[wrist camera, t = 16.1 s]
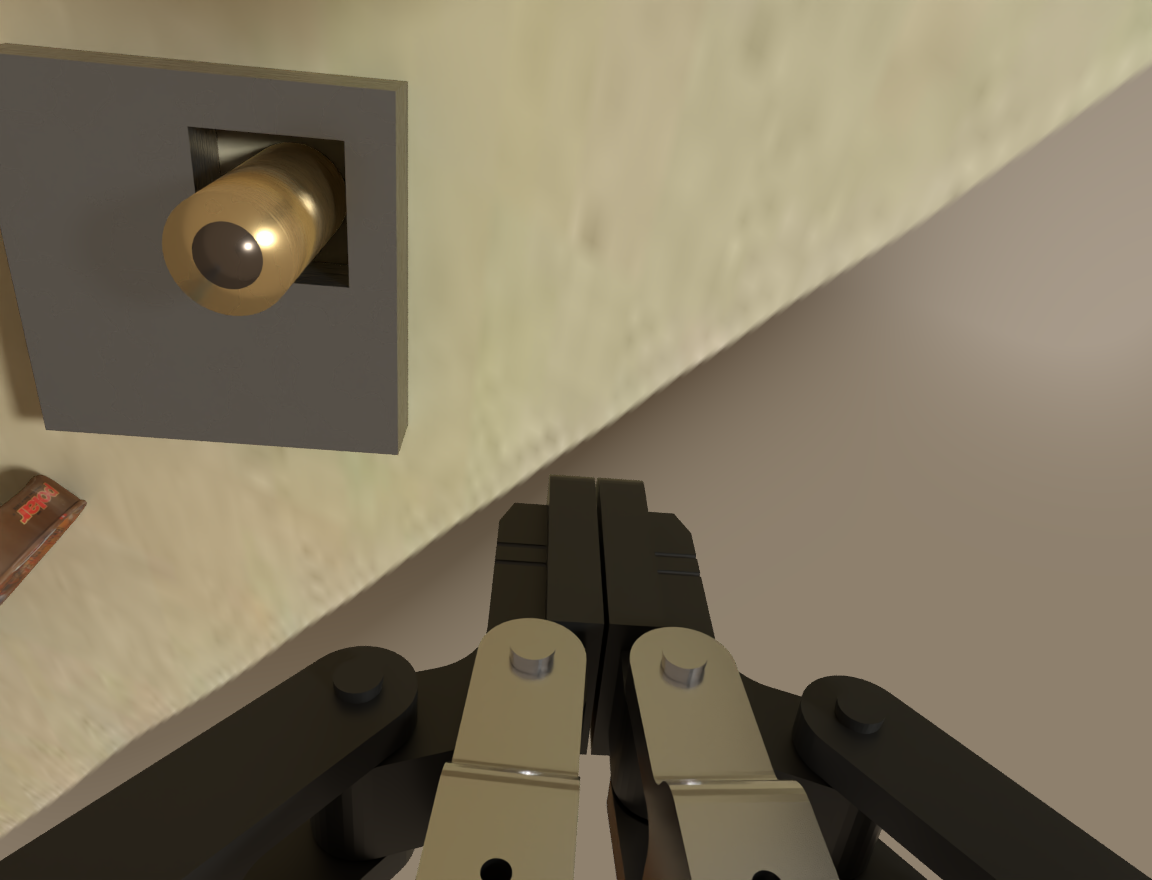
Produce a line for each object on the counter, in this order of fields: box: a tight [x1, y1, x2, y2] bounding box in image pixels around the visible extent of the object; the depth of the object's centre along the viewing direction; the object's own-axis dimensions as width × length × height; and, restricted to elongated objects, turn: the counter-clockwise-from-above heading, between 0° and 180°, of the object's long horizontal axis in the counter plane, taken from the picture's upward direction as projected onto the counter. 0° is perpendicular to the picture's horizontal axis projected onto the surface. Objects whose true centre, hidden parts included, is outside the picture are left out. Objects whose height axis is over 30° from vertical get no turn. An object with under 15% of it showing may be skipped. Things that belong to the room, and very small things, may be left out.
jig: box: [0, 43, 408, 455], centre depth 38 cm, size 16×16×3 cm
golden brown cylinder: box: [162, 142, 347, 316], centre depth 34 cm, size 4×4×9 cm
